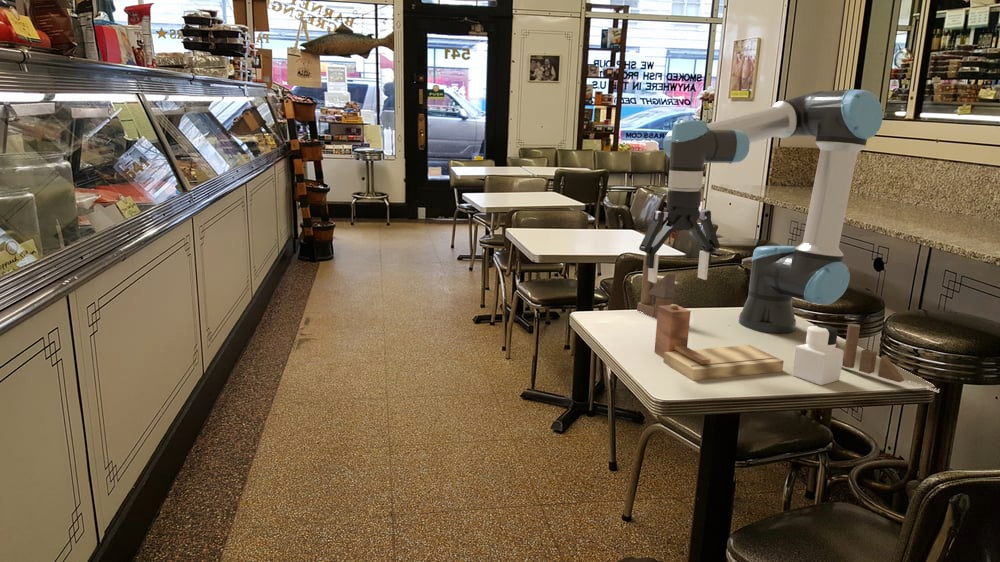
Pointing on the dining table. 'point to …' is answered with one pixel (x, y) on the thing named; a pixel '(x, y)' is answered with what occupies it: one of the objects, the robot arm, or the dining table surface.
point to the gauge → (675, 332)
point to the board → (724, 362)
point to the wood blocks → (870, 359)
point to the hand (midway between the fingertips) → (677, 280)
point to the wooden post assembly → (655, 292)
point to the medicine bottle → (819, 356)
